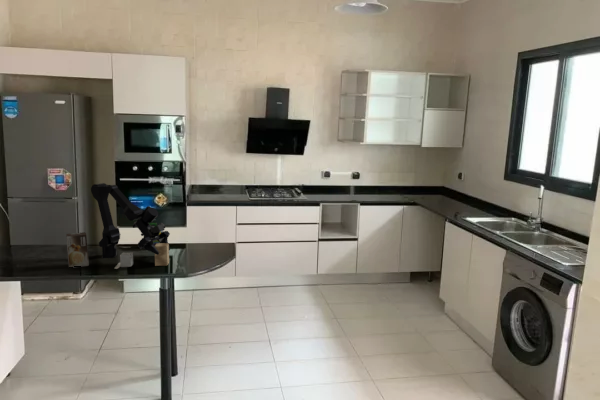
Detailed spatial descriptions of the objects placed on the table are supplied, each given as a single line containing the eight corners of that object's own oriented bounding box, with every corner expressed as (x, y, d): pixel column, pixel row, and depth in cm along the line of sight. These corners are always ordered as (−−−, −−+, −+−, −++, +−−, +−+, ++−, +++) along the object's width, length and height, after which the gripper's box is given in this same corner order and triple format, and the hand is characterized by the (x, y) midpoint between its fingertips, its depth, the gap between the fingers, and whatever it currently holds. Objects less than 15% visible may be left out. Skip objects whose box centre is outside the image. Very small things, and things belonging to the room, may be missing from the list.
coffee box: (88, 262, 243) (86, 231, 241) (89, 265, 238) (87, 234, 235) (68, 264, 239) (66, 233, 237) (68, 268, 234) (66, 236, 231)
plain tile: (113, 269, 233) (113, 268, 233) (119, 263, 243) (119, 262, 243) (135, 268, 234) (135, 268, 234) (139, 262, 244) (139, 262, 244)
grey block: (120, 266, 236) (120, 255, 235) (122, 264, 241) (122, 252, 240) (131, 266, 236) (130, 255, 235) (133, 263, 241) (132, 252, 240)
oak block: (155, 265, 238) (154, 246, 237) (157, 262, 244) (156, 243, 243) (167, 265, 239) (166, 246, 237) (169, 262, 245) (168, 243, 243)
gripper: (141, 221, 231) (160, 246, 228) (166, 215, 248) (184, 238, 245) (129, 236, 235) (148, 260, 233) (154, 228, 252) (172, 251, 250)
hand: (164, 252), depth 240 cm, fingers closed on oak block, 8 cm apart
